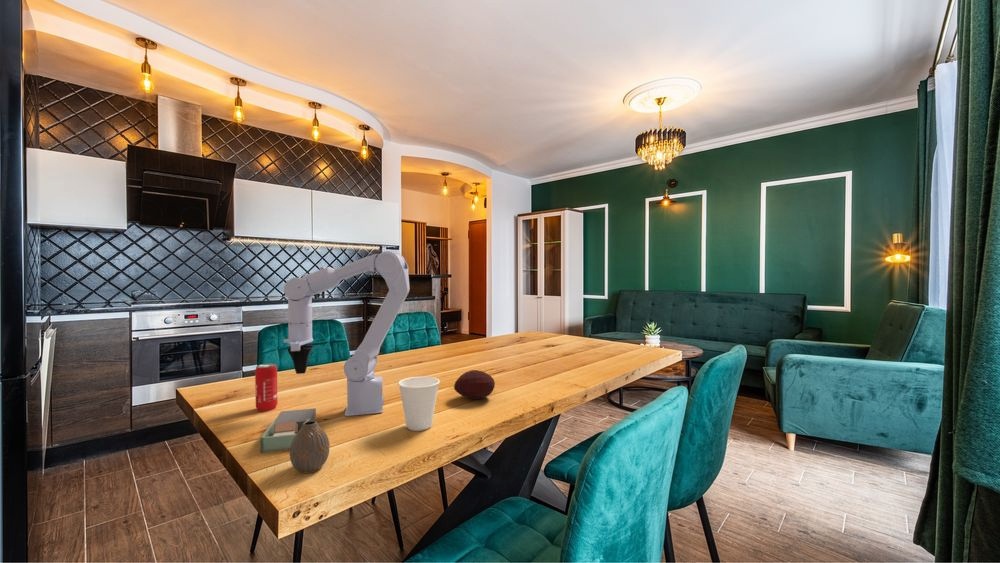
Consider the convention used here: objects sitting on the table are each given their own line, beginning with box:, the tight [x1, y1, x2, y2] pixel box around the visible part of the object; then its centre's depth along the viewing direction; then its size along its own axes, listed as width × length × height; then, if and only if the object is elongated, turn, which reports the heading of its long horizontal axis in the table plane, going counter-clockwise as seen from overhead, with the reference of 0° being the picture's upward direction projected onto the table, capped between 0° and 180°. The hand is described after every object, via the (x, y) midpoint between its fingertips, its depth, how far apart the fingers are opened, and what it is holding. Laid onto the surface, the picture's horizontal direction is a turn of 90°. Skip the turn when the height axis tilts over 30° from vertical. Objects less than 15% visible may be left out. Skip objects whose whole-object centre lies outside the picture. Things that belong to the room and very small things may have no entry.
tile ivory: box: [273, 430, 295, 436], centre depth 87 cm, size 4×4×2 cm
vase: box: [289, 420, 331, 474], centre depth 77 cm, size 7×7×9 cm
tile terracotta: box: [274, 422, 298, 434], centre depth 90 cm, size 4×4×2 cm
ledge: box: [273, 407, 317, 431], centre depth 98 cm, size 8×9×2 cm
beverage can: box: [254, 363, 279, 412], centre depth 110 cm, size 5×5×12 cm
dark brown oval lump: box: [453, 369, 496, 400], centre depth 119 cm, size 12×11×8 cm
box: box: [259, 419, 310, 454], centre depth 89 cm, size 8×10×3 cm
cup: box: [397, 376, 440, 432], centre depth 97 cm, size 10×10×11 cm
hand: (300, 373), depth 108 cm, fingers closed
